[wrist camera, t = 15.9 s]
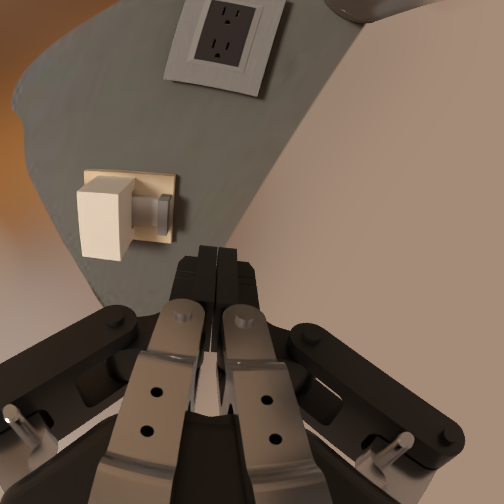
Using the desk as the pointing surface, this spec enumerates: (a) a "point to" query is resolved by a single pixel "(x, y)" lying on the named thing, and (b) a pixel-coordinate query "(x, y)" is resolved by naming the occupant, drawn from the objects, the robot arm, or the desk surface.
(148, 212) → the rail board
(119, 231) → the white rectangular block
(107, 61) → the desk surface
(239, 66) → the electrical outlet
